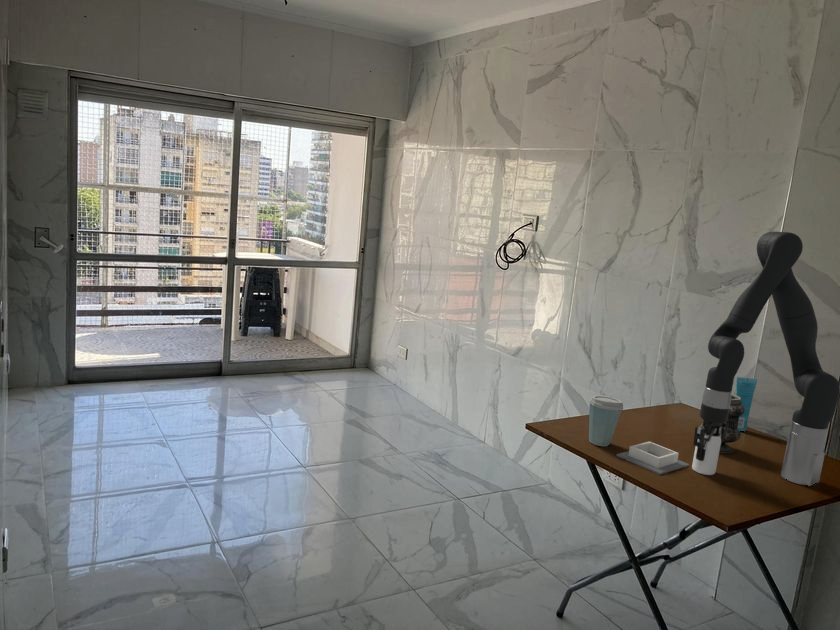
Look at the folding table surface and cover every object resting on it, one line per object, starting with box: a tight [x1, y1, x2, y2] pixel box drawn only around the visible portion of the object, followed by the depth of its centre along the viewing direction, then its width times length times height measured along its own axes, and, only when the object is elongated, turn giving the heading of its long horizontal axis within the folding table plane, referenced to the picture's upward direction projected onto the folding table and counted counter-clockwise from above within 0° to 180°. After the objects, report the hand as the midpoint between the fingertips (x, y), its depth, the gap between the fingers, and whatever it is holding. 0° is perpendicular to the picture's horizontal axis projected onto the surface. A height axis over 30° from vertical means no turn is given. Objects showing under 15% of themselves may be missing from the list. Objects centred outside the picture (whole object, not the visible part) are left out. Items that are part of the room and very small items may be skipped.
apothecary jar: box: [699, 393, 745, 455], centre depth 220 cm, size 12×12×18 cm
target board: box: [616, 441, 690, 476], centre depth 204 cm, size 15×15×4 cm
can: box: [691, 434, 721, 476], centre depth 199 cm, size 6×6×12 cm
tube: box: [734, 376, 758, 432], centre depth 242 cm, size 7×5×19 cm, turn 99°
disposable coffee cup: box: [588, 394, 624, 447], centre depth 215 cm, size 11×11×15 cm
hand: (705, 457), depth 200 cm, fingers closed on can, 6 cm apart
